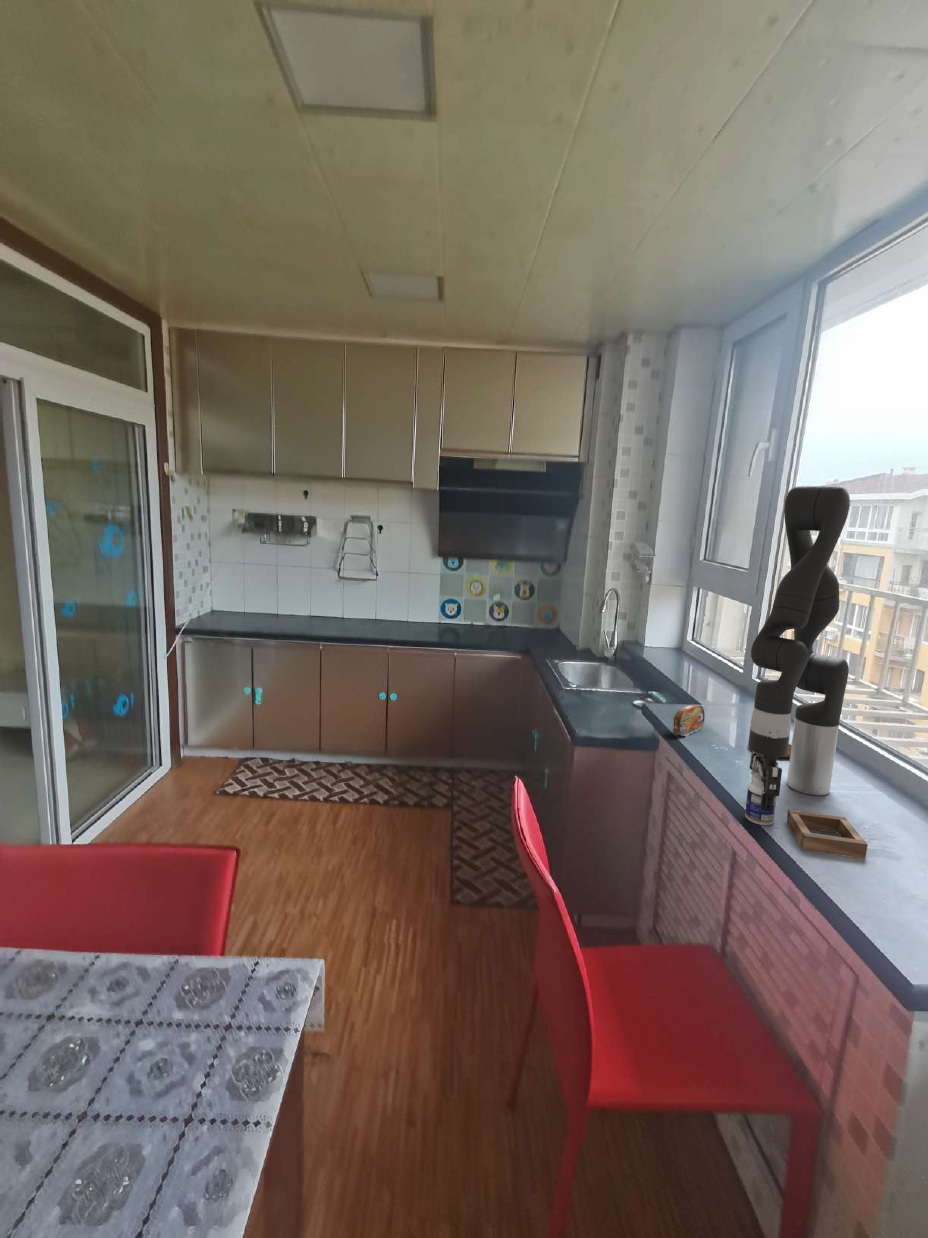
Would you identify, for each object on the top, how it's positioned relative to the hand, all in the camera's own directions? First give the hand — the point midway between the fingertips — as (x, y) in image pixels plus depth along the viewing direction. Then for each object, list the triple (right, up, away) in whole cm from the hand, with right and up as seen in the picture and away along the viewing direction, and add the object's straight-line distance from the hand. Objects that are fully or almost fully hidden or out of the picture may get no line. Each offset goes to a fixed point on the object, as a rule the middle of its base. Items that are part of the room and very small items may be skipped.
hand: (761, 801), depth 128 cm
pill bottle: (0, -4, +1) cm, 5 cm away
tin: (+4, +4, +54) cm, 54 cm away
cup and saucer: (+23, +1, +40) cm, 47 cm away
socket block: (+9, -6, -7) cm, 13 cm away
